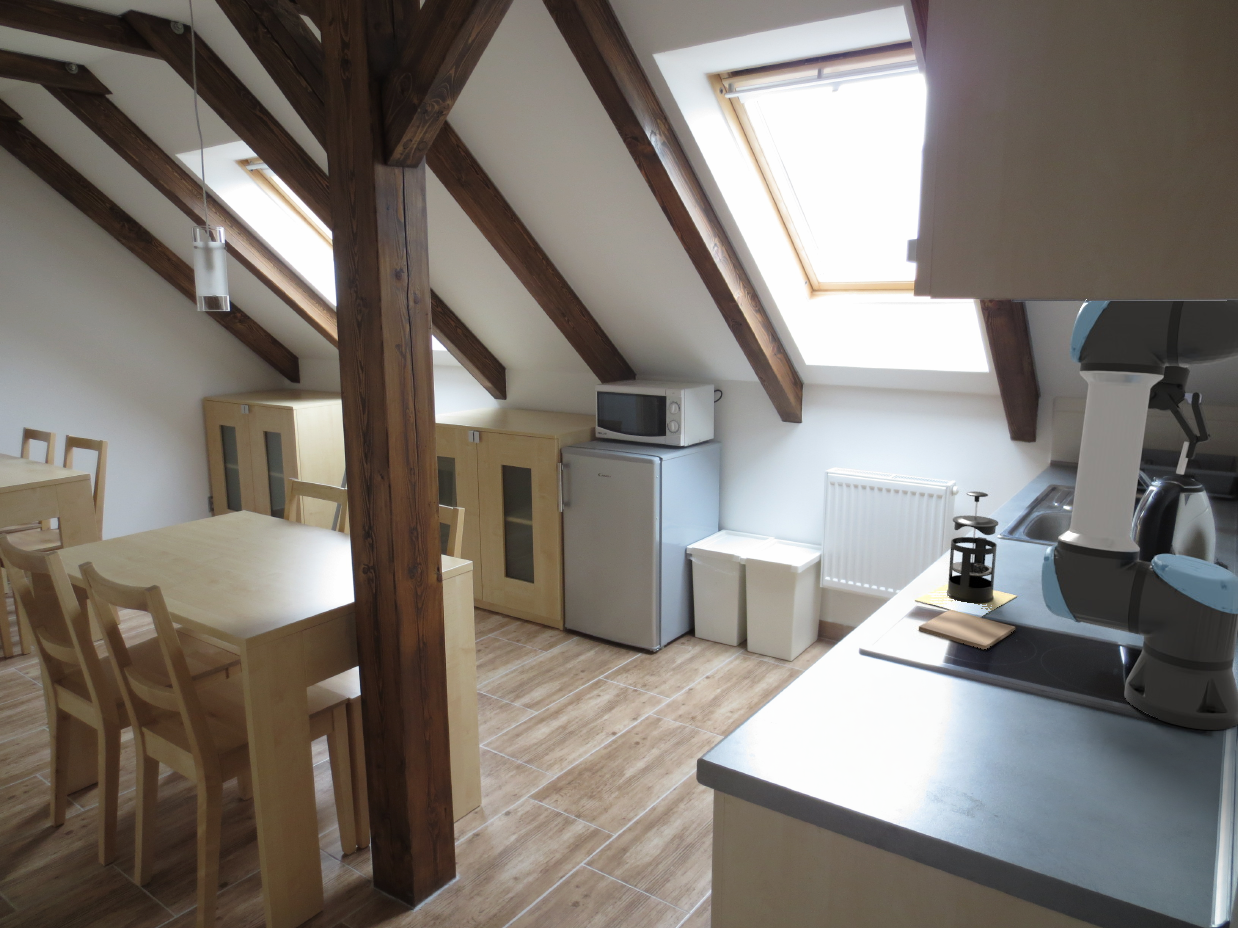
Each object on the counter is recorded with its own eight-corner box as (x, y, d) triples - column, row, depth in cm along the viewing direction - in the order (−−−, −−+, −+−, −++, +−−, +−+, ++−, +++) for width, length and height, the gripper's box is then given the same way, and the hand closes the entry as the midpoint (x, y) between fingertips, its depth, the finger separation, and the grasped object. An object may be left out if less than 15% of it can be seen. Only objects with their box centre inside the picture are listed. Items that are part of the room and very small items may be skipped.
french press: (985, 607, 171) (993, 500, 167) (939, 598, 177) (946, 494, 173) (1001, 592, 180) (1009, 490, 176) (957, 583, 186) (964, 484, 182)
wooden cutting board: (985, 649, 152) (985, 645, 151) (918, 630, 161) (918, 626, 161) (1014, 630, 160) (1015, 626, 160) (950, 612, 170) (950, 609, 169)
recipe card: (979, 618, 167) (979, 617, 166) (914, 600, 177) (915, 599, 177) (1017, 596, 178) (1017, 595, 178) (954, 581, 189) (954, 580, 189)
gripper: (1246, 375, 162) (1217, 481, 164) (1108, 360, 180) (1084, 455, 183) (1238, 371, 157) (1208, 479, 159) (1097, 355, 175) (1072, 453, 177)
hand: (1141, 466), depth 171 cm, fingers open, 13 cm apart
